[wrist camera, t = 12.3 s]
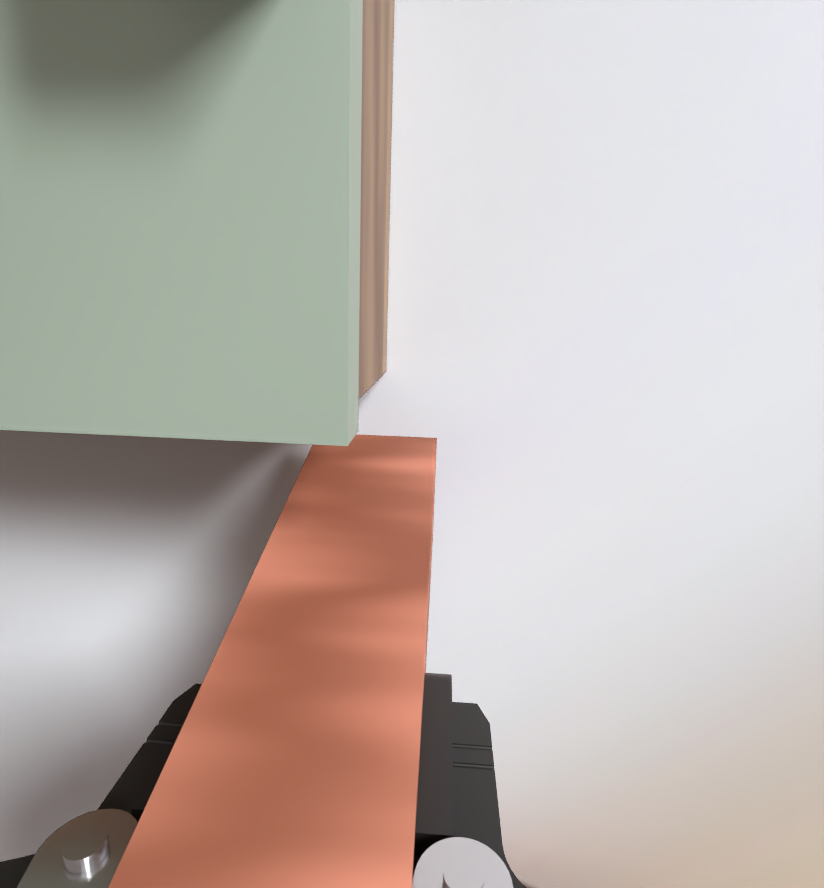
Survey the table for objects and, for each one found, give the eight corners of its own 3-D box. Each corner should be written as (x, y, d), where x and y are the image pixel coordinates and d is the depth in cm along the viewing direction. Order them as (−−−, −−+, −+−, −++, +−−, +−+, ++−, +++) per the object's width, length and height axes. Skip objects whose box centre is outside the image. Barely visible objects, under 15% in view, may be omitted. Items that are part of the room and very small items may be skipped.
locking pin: (436, 437, 16) (401, 1050, 5) (432, 533, 17) (400, 1144, 7) (318, 433, 16) (49, 1015, 5) (325, 528, 17) (131, 1116, 7)
